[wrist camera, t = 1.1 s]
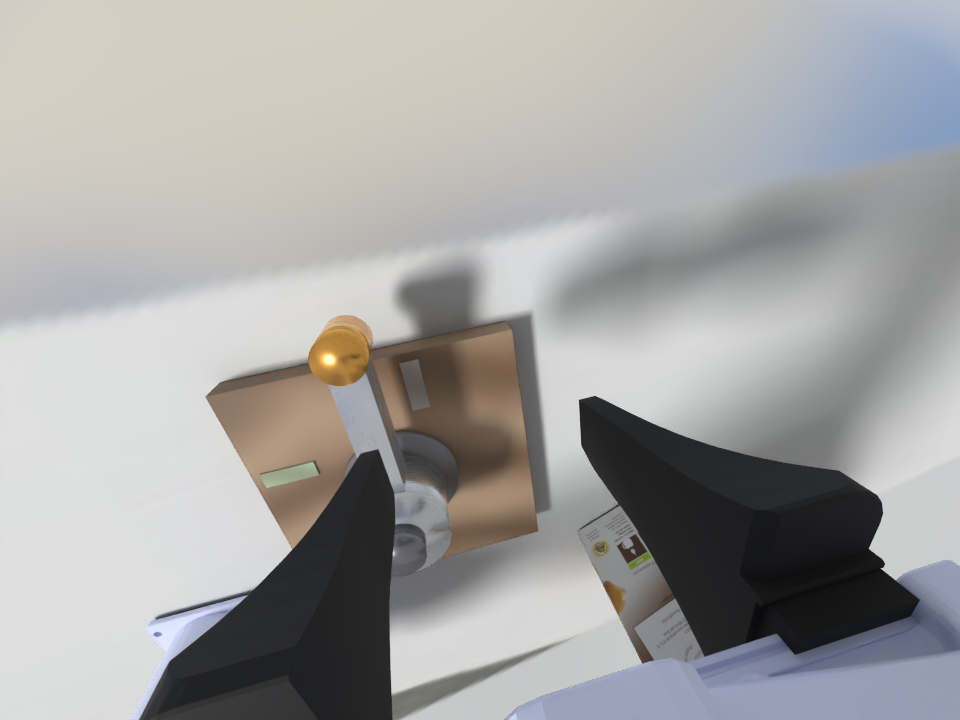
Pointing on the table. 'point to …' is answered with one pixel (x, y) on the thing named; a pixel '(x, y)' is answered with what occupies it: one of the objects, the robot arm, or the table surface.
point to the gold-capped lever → (383, 443)
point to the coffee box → (638, 590)
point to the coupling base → (418, 425)
